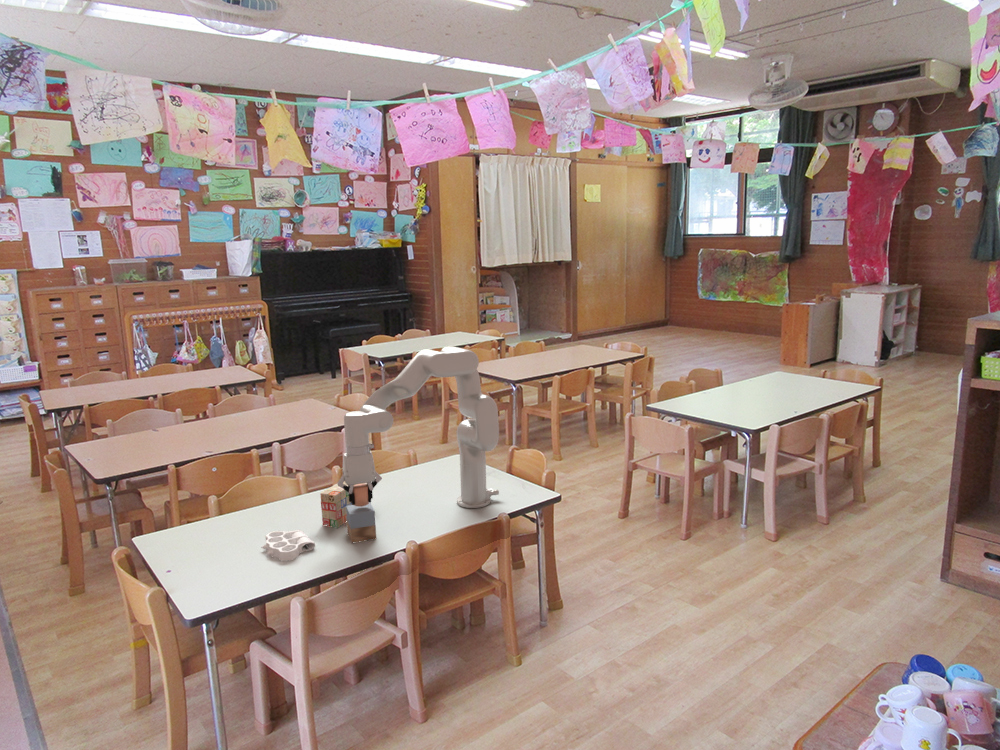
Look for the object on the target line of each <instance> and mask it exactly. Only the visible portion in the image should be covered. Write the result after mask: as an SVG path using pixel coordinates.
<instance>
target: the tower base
mask: <svg viewBox="0 0 1000 750" xmlns="http://www.w3.org/2000/svg"><path fill="white" fill-rule="evenodd" d="M376 528H377V527H376V524H375V525H373V526H367V527H361V528H355V529H351V528H350V526H349V524H348V521H347V522H346V530H347V533H348V534H347V536H348V535H349V536H348V537H349V539H350V540H349V541H350V542H351V544H354V543H353V542H356V543H360V542H359V541H362V542H365V541H364V540H367V541H369V540H368V539H373V540H376V539H377V530H376ZM375 538H376V539H375Z"/></svg>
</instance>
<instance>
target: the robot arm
mask: <svg viewBox="0 0 1000 750" xmlns="http://www.w3.org/2000/svg"><path fill="white" fill-rule="evenodd" d="M479 364H480V359H479V357H478V355H477V353H476V352H474V351H473V350H471V349H467V348H463V347H458V346H451V345H450V346H449V345H447V346H444V347H443V348H441V349H440V351H439V350H433V349H422V350H420V351H418V352H417V353H416V355H415V356H413V358H412V359H411V360H410V361H409V362H408V364H407V365H406V366H405V367H404V368H403V369H401V371H400V372H399V374H398V375H397V376H396V377H395V378H394V379H393V380H391V381H389V382H387V383H386V384H384V385H382V386H380V387H379V388H378V389H377V390H375V391H374V392H372V394H371V395H370V396H369V397H368V398H367V399H366V400H365V401H364V402H363V404H362V405H361V407H360V408H359V410H355V411H353V410H352V411H349V412H346V413H345V414H344V417H343V426H344V427H343V428H344V439H345V453H343V456H342V475H341V477H340V478H339V480H338V481H337V483H336V484H337V485H338V486H339V487H341V488H343V489H344V490H346V491H347V492H348V493H349V502H351V503H352V505H354V504H355V499H354V493H353V487H354V485H355V484H362V483H367V485H368V498H369V502H372V500H373V498H374V497H373V496H374V495H373V490H374V488H375V487H377V485H378V483H379V482H380V481H382V479H383V478H382V476H381V475H380V474H379V473H378V472H377V471H376V467H375V466H376V465H375V461H374V456H373V453H372V450H371V449H375V445H374V443H370V436H369V435H370V434H371V433H372V434H375V433H385V432H387V431H389V430H390V429H391V428H392V427H393V425H394V421H395V420H394V416H393V415H392V413H391V412H389V410H386V409H387V408H388V407H389V406H390V405H392V404H393V403H396V402H398V401H401V400H404V399H405V400H406V399H409V398H411V397H414V396H415V395H416V394H417V393H418V392H419V391H420V390H421V389H422V387H423V386H424V385H425V383H427V381H428V380H429V379H430V378H431V377H432V376H433V377H435V378H453V377H454V378H455V382H456V388H457V389H456V391H457V403H458V404H457V405H458V410H459V412H460V414H461V415H462V416H464V417H466V418H467V419H464V420H462V421H461V422H460V423H458V426H457V429H456V440H457V444H458V445H457V446H458V449H459V468H460V470H459V471H460V474H459V475H460V495H459V497H457V499H456V502H457V503H456V504H457V505H458V506H460V507H462V508H467V509H478V508H479V509H480V508H484V507H487V506H488V505H489V504H491V502H492V498H491V497H492V496H499V495H500V490H499V489H493V488H487V463H486V462H487V459H486V458H487V457H486V452H491V451H493V450H494V449H495V448H496V446H498V443H499V439H500V424H499V409H498V405H497V403H496V401H495V399H493V398H492V396H489V395H487V394H484V393H483V392H482V387H481V386H482V385H481V378H480V374H479V371H478V367H479ZM343 482H345V483H346V484H347V485H348V486H346V485H345V484H343Z"/></svg>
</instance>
